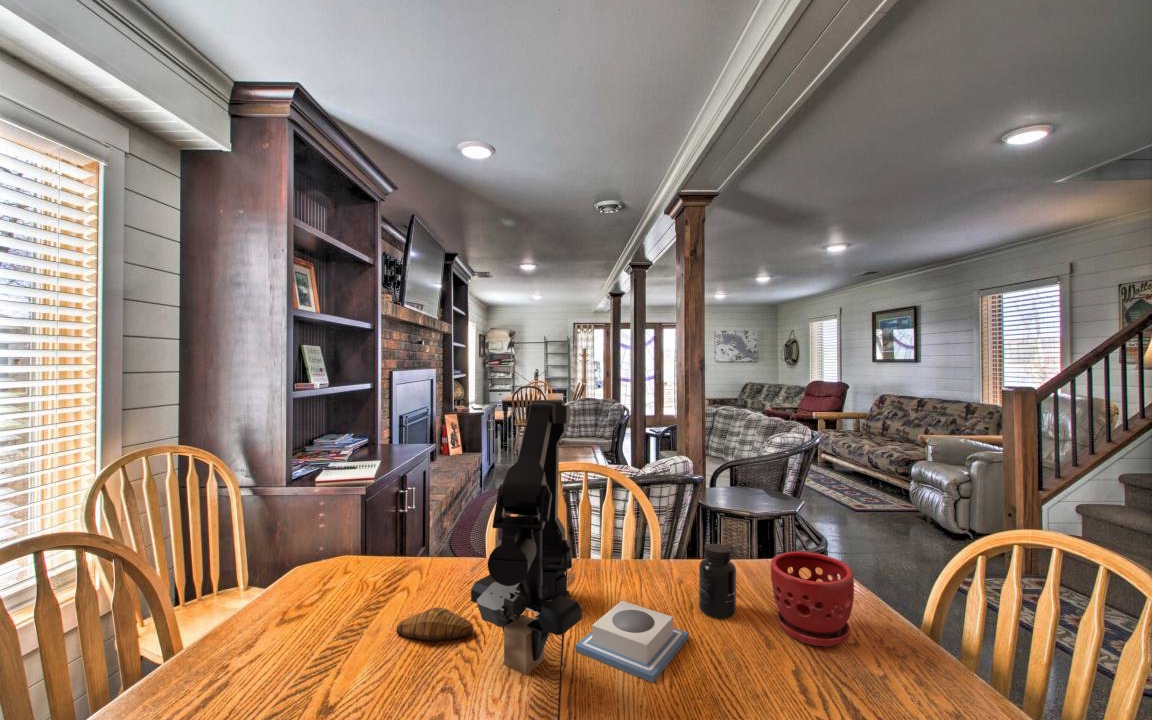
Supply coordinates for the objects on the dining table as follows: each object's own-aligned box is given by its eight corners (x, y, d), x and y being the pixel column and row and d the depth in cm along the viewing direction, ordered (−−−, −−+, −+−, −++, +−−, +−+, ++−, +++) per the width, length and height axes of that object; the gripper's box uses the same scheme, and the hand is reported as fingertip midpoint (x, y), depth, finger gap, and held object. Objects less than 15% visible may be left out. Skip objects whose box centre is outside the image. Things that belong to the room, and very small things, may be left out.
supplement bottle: (738, 622, 90) (738, 556, 90) (699, 618, 91) (699, 553, 91) (734, 603, 97) (734, 542, 97) (698, 600, 98) (698, 540, 98)
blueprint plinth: (575, 651, 81) (575, 626, 81) (617, 614, 93) (617, 592, 93) (652, 683, 73) (652, 655, 73) (688, 638, 85) (688, 614, 85)
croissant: (388, 646, 83) (388, 617, 83) (404, 624, 90) (404, 597, 90) (467, 648, 82) (467, 619, 82) (477, 626, 89) (477, 599, 89)
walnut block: (504, 664, 78) (504, 626, 78) (522, 650, 81) (522, 614, 81) (525, 675, 75) (525, 635, 75) (544, 660, 79) (544, 622, 79)
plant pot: (780, 606, 96) (780, 544, 96) (857, 627, 88) (858, 560, 88) (762, 637, 85) (762, 568, 85) (848, 665, 77) (848, 589, 77)
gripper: (444, 560, 77) (444, 659, 77) (537, 592, 66) (538, 708, 66) (494, 538, 86) (495, 627, 86) (583, 563, 75) (584, 665, 75)
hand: (524, 654), depth 78 cm, fingers closed on walnut block, 4 cm apart
